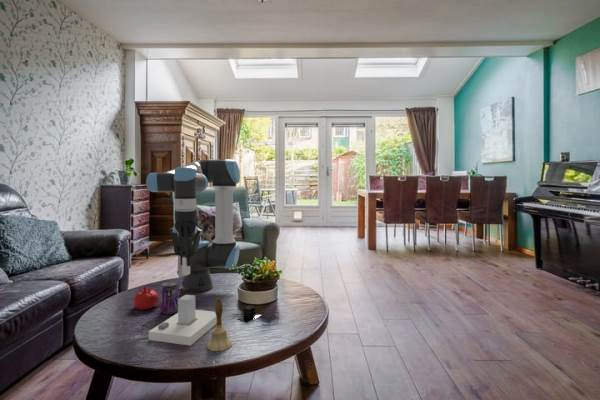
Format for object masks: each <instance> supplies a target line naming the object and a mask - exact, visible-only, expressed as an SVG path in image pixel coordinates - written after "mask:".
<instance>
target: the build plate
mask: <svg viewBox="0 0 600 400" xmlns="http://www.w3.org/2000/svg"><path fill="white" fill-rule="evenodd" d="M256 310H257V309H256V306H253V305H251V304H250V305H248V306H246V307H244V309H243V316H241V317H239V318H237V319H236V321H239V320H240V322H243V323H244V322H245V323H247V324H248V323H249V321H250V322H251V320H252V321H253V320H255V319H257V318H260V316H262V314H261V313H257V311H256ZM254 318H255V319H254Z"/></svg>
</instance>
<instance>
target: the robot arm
mask: <svg viewBox="0 0 600 400" xmlns="http://www.w3.org/2000/svg"><path fill="white" fill-rule="evenodd" d="M240 174H241V173H240V168H239V165H238V162H237V161H236V160H235V159H227V158H223V159H222V158H221V159H220V158H219V159H218V158H217V159H214V158H213V159H211V158H210V159H209V158H207V159H199V160H196V161H193V162H189V163H186V164H185V165H184V166H182V167H181V166H178V167H175V168H174V169H171V170H168V171H163V172H158V171H157V172H150V173H148V175H147V177H146V179H145V180H146V181H145V182H146V183H145V184H146V189H147V190H148V191H149V192H152V193H174V210H175V211H174V221H175V223H174V226H173V227H172V228H169V229H168V232H169V234H170V236H171V241H172V245H173V250H174V254H175V256H179V257H180V258H179V259H180V266H182V271H181V272H182V276H183V278H182V282H181V290H182V291H184V292H187V293H199V292H200V293H201V292H205V291H208V290H211V289H212V288H213V287H214V284H213V283H214V282H213V278H212V276H211V273H210V269H211V268H212V269H213V268H216V269H217V268H218V269H232V268H231V267H232V264H234V265H235V267H236V266H237V264H238V261H239V257H240V250H241V249H240V245H239V244H237V242H236V239H235V238H234V190H235V189H236V188H237V184H239V183H240V179H241V175H240ZM210 183H211V184H212V185H211V186H212V188H213V189H214V190H215V194H214V195H215V202H214V205H215V208H214V209H215V213H214V214H215V215H214V216H215V217H214V219H215V220H214V221H215V223H214V224H215V230H214V231H215V232H214V234H215V235H214V236H215V237H214V239H213V240H212V241H211V242H212V243H210V242H209V240H201V236H202V235H203V233H204V229H200V228H199V227H198V225H197V193H201V192H204V191H205V190H206V189H207V188H208V185H209V184H210Z"/></svg>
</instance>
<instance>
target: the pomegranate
mask: <svg viewBox="0 0 600 400" xmlns="http://www.w3.org/2000/svg"><path fill="white" fill-rule="evenodd" d="M159 300H160V297H159V294H158V292H157V291H156V290H154V289H153V287H152V288H149V289H148V288H147V286H143V289H138V292H136V294H135V295H134V297H133V300H132V302H133V303H132V304H133V306H134V308H135V309H137V310H139V311H140V310H141V311H146V310H150V309H153V308H154V307H156V306H157V304H158V302H159Z"/></svg>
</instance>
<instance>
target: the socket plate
mask: <svg viewBox="0 0 600 400" xmlns="http://www.w3.org/2000/svg"><path fill="white" fill-rule="evenodd" d="M195 314H196V321H195V322H193V323H192V324H191V325H189V326H188V325H180V324H178V312H176V313H174V315H172V316H170V317H169V318H167V319H166V320H165V321H162V322H161V323H160V324H157V326H156V325H155V327H152V329H150V330H149V331H148V340H149V341H154V342H155V341H156V342H160V343H169V344H176V345H182V346H183V345H184V346H189V347H191V346H192V345H193V344H194V343H196V342H197V341H198V340H199V339H200V338H201V337H203V336H205V334H206V333H207V332H209V331H210V330H211V329H212V328H213V327H214V326H217V325H216V323H217V317H216V313H215V311H211V310H210V311H209V310H202V309H195Z"/></svg>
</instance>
